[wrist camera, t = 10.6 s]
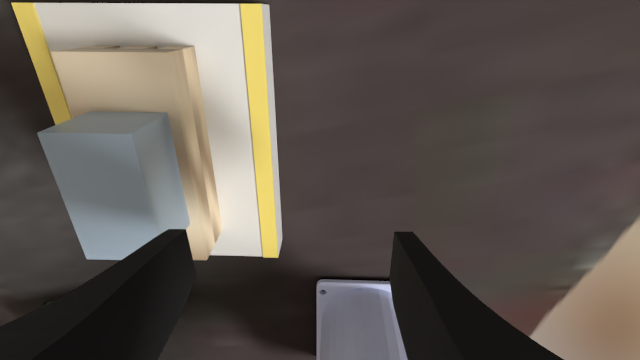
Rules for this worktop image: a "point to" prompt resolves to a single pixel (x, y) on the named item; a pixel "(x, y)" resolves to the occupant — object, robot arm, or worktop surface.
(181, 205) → the block
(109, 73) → the pallet
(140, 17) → the dock
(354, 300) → the robot arm
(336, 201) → the worktop surface
